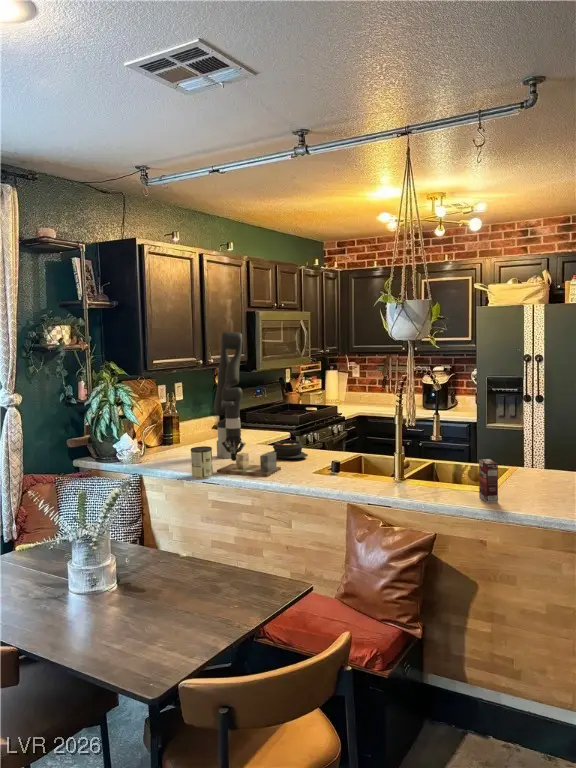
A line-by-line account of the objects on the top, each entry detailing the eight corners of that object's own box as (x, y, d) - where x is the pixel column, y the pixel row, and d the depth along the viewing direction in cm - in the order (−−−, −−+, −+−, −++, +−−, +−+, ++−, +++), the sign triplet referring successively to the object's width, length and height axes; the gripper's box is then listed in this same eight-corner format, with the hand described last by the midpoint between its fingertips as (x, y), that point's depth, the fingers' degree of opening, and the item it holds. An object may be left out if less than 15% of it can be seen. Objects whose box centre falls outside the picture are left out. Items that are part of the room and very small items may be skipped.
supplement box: (478, 497, 251) (478, 459, 250) (490, 497, 251) (490, 458, 250) (486, 503, 242) (486, 463, 241) (498, 502, 243) (498, 463, 241)
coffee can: (197, 473, 308) (196, 445, 307) (216, 474, 304) (215, 446, 303) (187, 478, 298) (186, 449, 297) (207, 479, 295) (206, 450, 294)
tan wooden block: (232, 470, 306) (232, 456, 305) (241, 466, 315) (241, 452, 314) (239, 470, 304) (239, 456, 304) (248, 466, 313) (248, 453, 313)
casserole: (261, 457, 346) (260, 442, 345) (285, 452, 358) (285, 437, 358) (290, 463, 327) (290, 447, 327) (315, 457, 340) (315, 442, 339)
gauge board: (216, 472, 308) (216, 454, 308) (232, 466, 323) (231, 448, 322) (267, 476, 297) (266, 457, 296) (280, 469, 312) (280, 451, 311)
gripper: (218, 427, 311) (219, 461, 312) (241, 428, 305) (242, 462, 307) (225, 425, 317) (226, 458, 319) (248, 426, 312) (249, 459, 313)
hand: (234, 460), depth 313 cm, fingers closed
